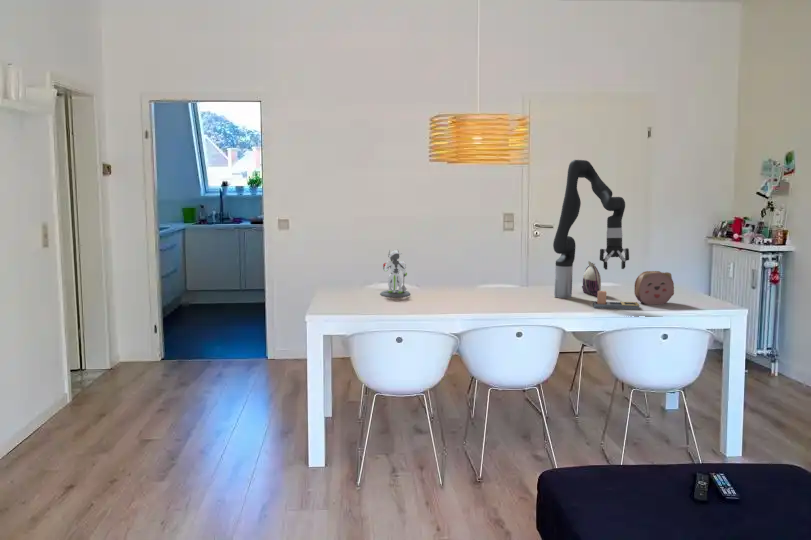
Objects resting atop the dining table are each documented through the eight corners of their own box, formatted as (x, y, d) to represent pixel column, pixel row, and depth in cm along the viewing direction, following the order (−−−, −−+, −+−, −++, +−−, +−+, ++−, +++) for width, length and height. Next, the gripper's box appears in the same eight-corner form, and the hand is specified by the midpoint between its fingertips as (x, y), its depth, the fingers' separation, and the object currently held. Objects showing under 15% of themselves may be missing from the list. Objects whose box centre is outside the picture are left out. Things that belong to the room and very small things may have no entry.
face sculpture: (639, 304, 379) (640, 273, 376) (632, 302, 385) (633, 271, 383) (674, 303, 382) (675, 272, 380) (666, 301, 389) (668, 270, 387)
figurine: (411, 292, 414) (411, 248, 410) (408, 297, 397) (409, 251, 393) (382, 291, 415) (382, 248, 412) (378, 296, 399) (378, 251, 395)
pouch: (573, 291, 419) (575, 258, 416) (586, 290, 421) (588, 258, 419) (596, 298, 395) (597, 264, 393) (609, 298, 397) (611, 263, 395)
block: (597, 307, 371) (598, 292, 370) (597, 306, 375) (597, 290, 374) (605, 307, 370) (606, 292, 369) (605, 306, 374) (605, 291, 373)
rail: (594, 308, 369) (594, 303, 369) (592, 305, 377) (592, 300, 377) (639, 309, 366) (639, 305, 366) (636, 306, 374) (636, 302, 373)
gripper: (626, 236, 368) (625, 268, 370) (598, 237, 368) (598, 269, 369) (631, 236, 361) (630, 269, 362) (602, 237, 360) (602, 270, 362)
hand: (614, 269), depth 366 cm, fingers open, 8 cm apart
